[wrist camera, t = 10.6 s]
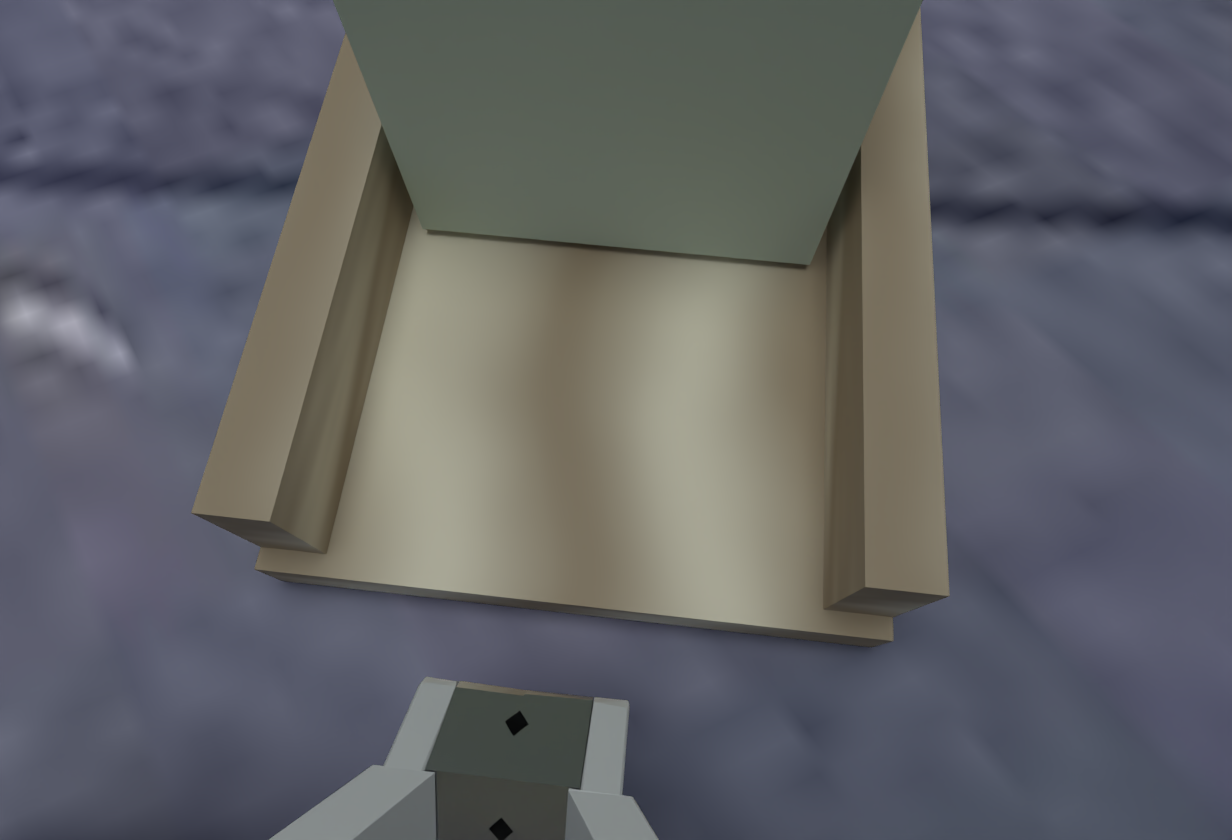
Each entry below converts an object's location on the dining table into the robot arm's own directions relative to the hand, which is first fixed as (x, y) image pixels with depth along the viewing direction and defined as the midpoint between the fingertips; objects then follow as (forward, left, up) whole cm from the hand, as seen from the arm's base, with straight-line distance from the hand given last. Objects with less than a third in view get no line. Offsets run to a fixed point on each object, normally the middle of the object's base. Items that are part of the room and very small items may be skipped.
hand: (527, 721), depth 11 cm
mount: (0, -12, -6) cm, 14 cm away
